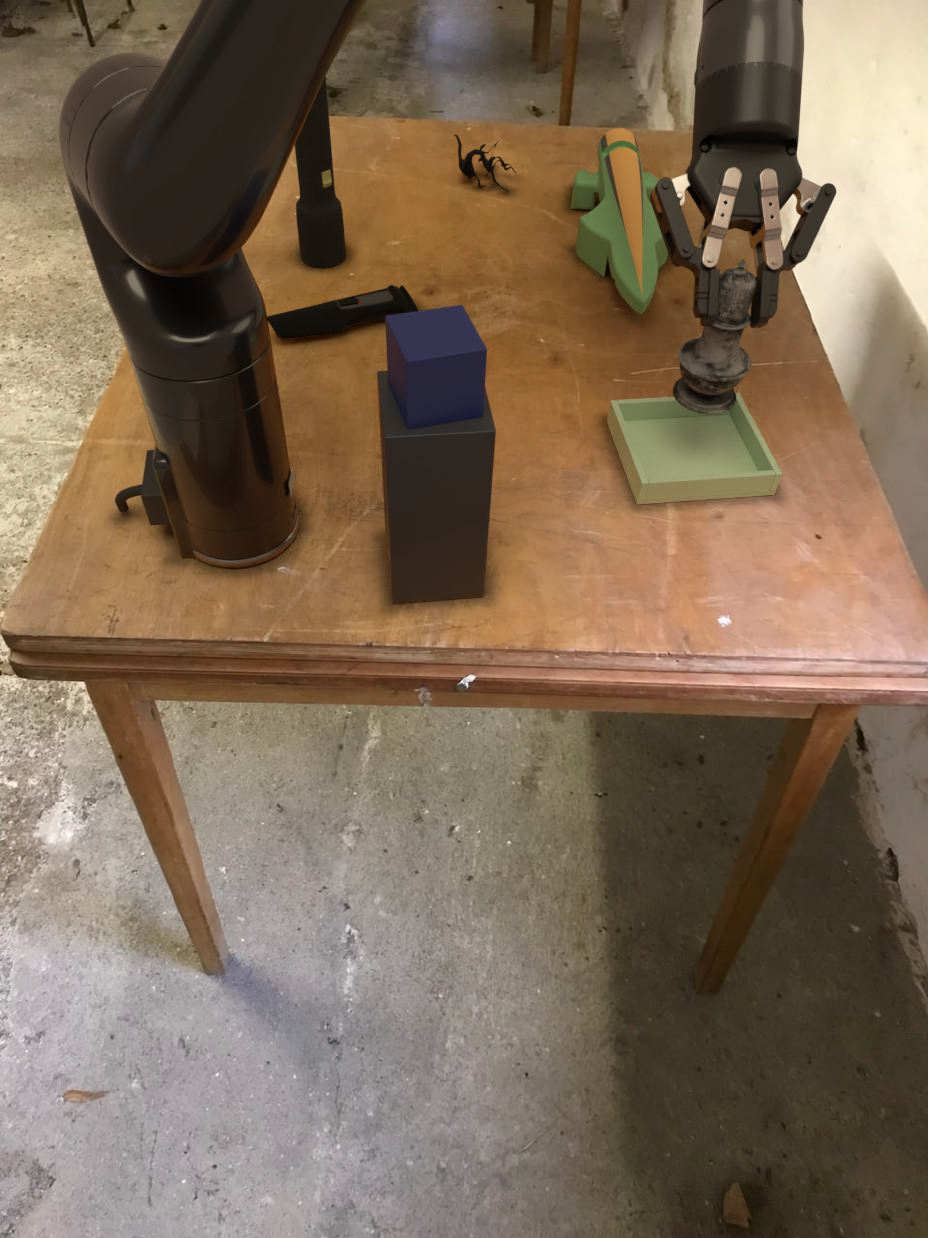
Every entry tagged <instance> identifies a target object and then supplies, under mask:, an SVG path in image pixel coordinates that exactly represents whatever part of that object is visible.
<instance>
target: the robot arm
mask: <svg viewBox="0 0 928 1238" xmlns="http://www.w3.org/2000/svg"><path fill="white" fill-rule="evenodd" d="M367 1H368V0H199V2H198V4H197V6H196V8H195V10H194V12H193V14H192V16H191V17H190V19H189V21H188V23H187V24H186V27H185V28H184V30H183V32H182V34H181V36H180V37H179V40H178V41H177V42H176V45H175V47H174V49H173V50H172V52H171V54H170V56H169V57H168V59H167V61H166V60H164V59H162V58H159V57H158V56H157V57H156V56H154V55H152V54H147V53H141V52H119V53H113V54H110V55H107V56H105V57H102V58H100V59H98V60H96V61H94V62H93V63H91V64H90V65H89V66H87V67H85V69H83V70H82V71H81V72H80V74H79V75H78V76H77V77H76V78H75V80H74V81H73V83H72V84H71V85H70V87H69V89H68V91H67V93H66V95H65V98H64V100H63V103H62V107H61V110H60V116H59V122H58V123H59V124H58V140H59V149H60V150H59V151H60V155H61V160H62V165H63V170H64V173H65V176H66V180H67V183H68V186H69V190H70V192H71V196H72V199H73V202H74V206H75V208H76V211H77V215H78V217H79V221H80V224H81V228H82V230H83V233H84V236H85V239H86V243H87V245H88V248H89V250H90V255H91V257H92V261H93V264H94V268H95V270H96V273H97V277H98V279H99V282H100V286H101V288H102V290H103V294H104V296H105V298H106V301H107V303H108V305H109V308H110V310H111V312H112V314H113V317H114V319H115V321H116V323H117V325H118V328H119V330H120V333H121V335H122V338H123V341H124V345H125V348H126V351H127V354H128V357H129V361H130V365H131V367H132V371H133V374H134V377H135V381H136V384H137V387H138V390H139V394H140V397H141V400H142V405H143V407H144V411H145V414H146V417H147V421H148V424H149V428H150V431H151V434H152V438H153V441H154V449H147V450H146V454H145V461H144V468H143V474H142V475H143V476H142V483H141V484H137V485H133V486H129V487H126V488H124V489H121V490H120V491H119V492H118V493H117V494H116V495H115V497H114V503H115V505H116V507H117V509H118V512H120V513H121V514H124V513H127V512H129V509H130V508H129V506H128V503H127V501H128V500H129V499H132V498H136V497H140V499H141V501H142V504H143V509H144V510H145V514H146V518H147V521H148V523H149V525H150V526H162V525H163V526H165V525H170V527H171V529H172V532H173V535H174V539H175V543H176V545H177V549H178V553H179V555H180V557H182V558H189V557H190V558H196V559H197V560H199V561H201V562H203V563H205V564H208V565H211V566H214V567H221V568H229V569H230V568H231V569H233V568H234V569H236V568H246V567H251V566H256V565H259V564H263V563H265V562H267V561H269V560H271V559H274V558H275V557H277V556H278V555H280V554H281V553H283V552H285V551H286V549H288V548H289V546H290V545H291V544H292V543H293V542H294V541H295V539H296V537H297V535H298V532H299V529H300V521H301V520H300V514H299V513H300V512H299V508H298V505H297V497H296V494H295V489H294V487H295V482H296V478H297V477H296V476H297V475H296V469H295V463H294V461H293V463H292V466H291V462H290V455H289V449H288V442H287V436H286V431H285V424H284V417H283V411H282V403H281V397H280V391H279V385H278V377H277V372H276V365H275V359H274V358H275V357H274V353H273V352H274V351H273V345H272V338H271V333H270V326H269V322H268V319H267V316H268V314H267V308H266V303H265V301H264V297H263V295H262V292H261V289H260V287H259V285H258V283H257V281H256V278H255V277H254V275H253V272H252V271H251V268H250V266H249V264H248V261H247V258H246V257H245V254H244V251H243V247H244V246H245V244H246V243H247V242H248V240H249V239H250V238H251V236H252V234H253V233H254V232H255V230H256V228H257V226H258V225H259V223H260V222H261V219H262V218H263V216H264V214H265V212H266V209H267V208H268V205H270V201H271V199H272V197H273V195H274V193H275V191H276V188H277V186H278V184H279V181H280V179H281V177H282V175H283V172H284V170H285V168H286V165H287V163H288V161H289V159H290V155H291V154H292V152H293V149H294V148H295V143H296V140H297V138H298V136H299V133H300V131H301V129H302V127H303V124H304V122H305V120H306V117H307V115H308V113H309V111H310V108H311V106H312V104H313V102H314V100H315V97H316V95H317V93H318V91H319V89H320V86H321V84H322V82H323V80H324V78H325V76H326V77H327V75H328V72H329V70H330V69H331V67H332V64H333V63H334V60H335V58H336V56H337V55H338V54H339V52H340V50H341V47H342V46H343V45H344V42H345V40H346V39H347V37H348V36H349V34H350V32H351V30H352V28H353V27H354V26H355V23H356V22H357V20H358V18H359V16H360V15H361V13H362V11H363V9H364V7H365V5H366V3H367ZM701 17H702V19H701V31H700V37H699V42H698V48H697V54H696V55H697V56H696V66H695V67H696V68H695V72H694V76H693V77H694V78H693V85H694V107H693V124H692V127H693V128H692V142H691V143H692V144H691V159H690V163H689V165H688V167H687V168H686V170H685V172H684V174H681V175H678V176H676V177H674V178H670V177H668V176H663V177H661V178H658V179H659V181H658V182H657V184H656V186H655V187H654V189H653V191H652V192H651V194H650V202H651V204H652V207H653V210H654V213H655V216H656V219H657V222H658V225H659V228H660V231H661V234H662V237H663V240H664V242H665V245H666V248H667V251H668V256H669V259H670V262H671V264H672V265H673V266H674V267H677V268H679V267H683V268H685V269H687V270H689V271H691V273H692V274H693V276H694V277H693V278H694V280H693V281H694V283H693V301H692V302H693V304H692V312H693V316H694V318H695V319H699V325H700V327H704V326H711V325H713V324H714V323H715V322H716V320H717V314H718V297H719V279H720V274H721V269H720V268H719V269H717V265H718V263H719V259H720V256H721V253H722V252H721V251H722V249H723V244H724V240H725V237H726V236H727V233H728V231H729V230H735V229H738V230H741V231H743V232H747V233H748V242H749V247H750V248H751V250H752V251H753V259H754V260H753V261H754V267H755V273H756V276H754V277H755V279H756V288H755V291H754V294H753V298H752V301H751V304H750V317H751V318H750V323H749V326H750V328H751V329H761V328H763V327H765V326H766V325H767V324H768V323H769V320H770V319H772V318H773V317H775V315H776V313H777V311H778V300H779V286H780V283H779V282H780V275H781V273H782V272H784V271H785V272H789V271H792V270H793V269H794V268H795V267H796V266H797V265H798V264H801V263H802V262H804V261H805V260H806V259H807V257H808V255H809V253H810V251H811V249H812V247H813V245H814V242H815V241H816V238H817V236H818V234H819V231H820V229H821V227H822V225H823V223H824V221H825V219H826V216H827V215H828V212H829V210H830V208H831V206H832V204H833V202H834V200H835V197H836V195H837V188H836V186H835V185H834V184H833V183H830V182H827V183H824V184H823V185H822V186H821V185H819V184H817V183H815V182H813V181H811V180H809V179H807V178H805V177H803V170H802V167H801V165H800V163H799V160H798V148H799V138H800V136H799V135H800V123H801V121H800V120H801V118H800V117H801V106H802V105H801V104H802V91H803V90H802V89H803V75H804V73H803V72H804V57H805V31H804V29H805V28H804V0H702V15H701ZM686 191H687V192H688V194H689V196H690V197H691V199H692V200H693V203H694V204H695V205H696V207H697V209H698V210H699V212H700V214H701V215H702V217H703V222H702V226H701V229H700V234H699V238H698V246H696V245H695V244H694V241H693V237H692V235H691V231H690V229H689V226H688V223H687V220H686V217H685V214H684V211H683V206H684V205H685V203H686ZM793 195H794V196H795V198H796V204H795V212H796V214H798V215H799V218H798V220H797V222H796V225H795V227H794V229H793V231H792V233H791V235H790V238H789V240H788V242H787V244H786V246H785V249H784V250H783V247H782V240H781V237H782V231H783V226H782V217H781V210H782V209H783V208H784V207H785V205H786V204H787V202H788V201H789V200H790V199H791V197H792V196H793Z"/></svg>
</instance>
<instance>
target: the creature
mask: <svg viewBox="0 0 928 1238" xmlns="http://www.w3.org/2000/svg"><path fill="white" fill-rule="evenodd" d="M453 136H454V137H455V138H456V141H457V145H458V147H457V155H458V168H459V170H460V172H461V174H463V175H464V176H465V177H467V179H468V180H469V181H471V179H472V178H473V177H475V179H476V181H477V187H478V189H482V188H484V187H487V185H485V184H484V185H481V180H480V179H479V177H478V176H477V174H478V173H479V171H478V172H476V171H475V168H474V164H473V157H474V156H475V155H477V156H480V158H478V159H477V162H479V163H480V162H482V165H483V168H484V169H485V170H486V172H487V173H482V172H481V174H482V175H484V176H487V177H488V176H489V173H490V175H491V179H492V182H493V183H492V185H491V187H493V186H496V187H499V188H500V189H502V190H504V191H506V192H510V190H509V189H508V188H505V187H503V186H502V185H500V184H499V183H498V181H497V180H496V177H495V172H494V169H495V168H496V167H495V166H496V164H497V163H498V162H500V165H501V167H502V168H503V170H504V171H509V170H510V169H511V170H512V172H513V173H514V174H515V175H517V172H516V171H515V169H514V167H513V166H512V165H511V164H510V163H505V161H504V160H503V159H502V157H501V156H499V155H498V156H493V154H494V151H495V149H496V147H497V145H498V143H499V142H500V140H498V141H496V143H494V145H492V146H491V147H490V149H489V150H488V151H484V150H483V149H484V148H485V147H486V145H487V144H486V143H483V144H481V145H480V147H479V149H478V148H475V149H473V150H471V151H469V152H468V153H466V155H465V158H463V157H462V147H463V145H462V141H461V139H460V137H459V136H458V134H454V135H453ZM492 149H493V152H492V154H491V156H490V158H489V159H487V157H486V155H487V154H489V153H490V152H491V150H492ZM496 159H497V160H496ZM495 160H496V161H495ZM494 161H495V162H494ZM493 163H494V164H493Z"/></svg>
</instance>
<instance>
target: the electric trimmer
mask: <svg viewBox="0 0 928 1238" xmlns="http://www.w3.org/2000/svg"><path fill="white" fill-rule="evenodd" d="M415 311H419V308H418V307H417V305H416V303H415V301H414V299H413V298H412V296H411V294H410V293H409V292H408V290H407V289H406V288H405V286H404V285H403V284H401V285H400V286H399V287H398V286H396V285H394V284H389V285H388V286H387V287H386V288H382V289H376V290H373V291H369V292H365V293H360V294H359V293H358V294H356V295H351V296H347V297H342V298H338V299H333V300H329V301H325V302H322V303H318V304H314V305H309V306H305V307H300V308H297V309H292V310H287V311H284V312H279V313H275V314H270V315H267V319H268V325H270V327H271V329H272V331H274V334H275V335H276V336H277V338H278V339H280V340H291V339H301V338H310V337H319V336H326V335H333V334H340V333H342V332H343V331H344V330H345V329H346V328H347V327H352V326H356V325H362V324H366V323H371V322H377V321H381V320H385V316H388V315H394V314H401V313H408V312H415Z"/></svg>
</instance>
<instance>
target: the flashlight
mask: <svg viewBox="0 0 928 1238" xmlns="http://www.w3.org/2000/svg"><path fill="white" fill-rule="evenodd" d="M327 88H328V87H327V75H326V76H325V78H324V80H323V82H322V84H321V86H320V89H319V91H318V93H317V95H316V97H315V100H314V102H313V104H312V106H311V108H310V111H309V113H308V115H307V117H306V120H305V122H304V124H303V127H302V129H301V131H300V133H299V136H298V138H297V140H296V143H295V145H294V152H295V153H294V154H295V162H296V170H297V180H298V188H299V189H298V190H299V198H298V200H297V201H296V204H295V218H296V225H297V236H298V244H299V254H300V259H301V261H302V262H303V263H304V264H305V265H307V266H309V267H311V268H318V269H329V268H333V267H336V266H339V265H341V264H342V263H344V262H345V260H346V258H347V251H346V249H347V248H346V237H345V223H344V214H343V213H344V211H343V207H342V202H341V201H340V199H339V198H338V197H337V195H336V187H335V175H334V164H333V150H332V137H331V126H330V113H329V101H328V89H327Z"/></svg>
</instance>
